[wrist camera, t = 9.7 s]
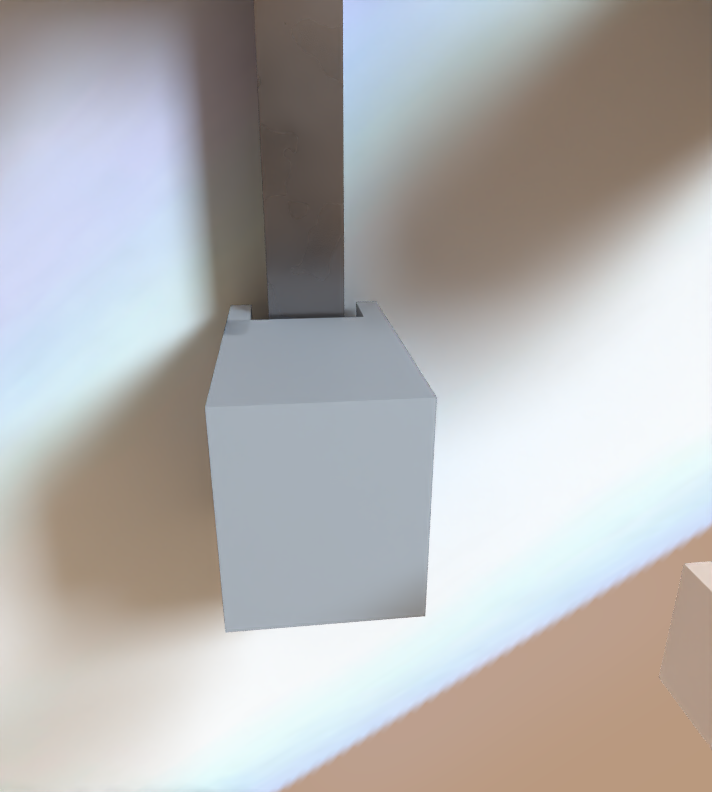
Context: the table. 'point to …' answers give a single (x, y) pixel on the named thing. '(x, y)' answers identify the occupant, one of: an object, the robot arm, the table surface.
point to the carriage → (319, 471)
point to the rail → (302, 154)
